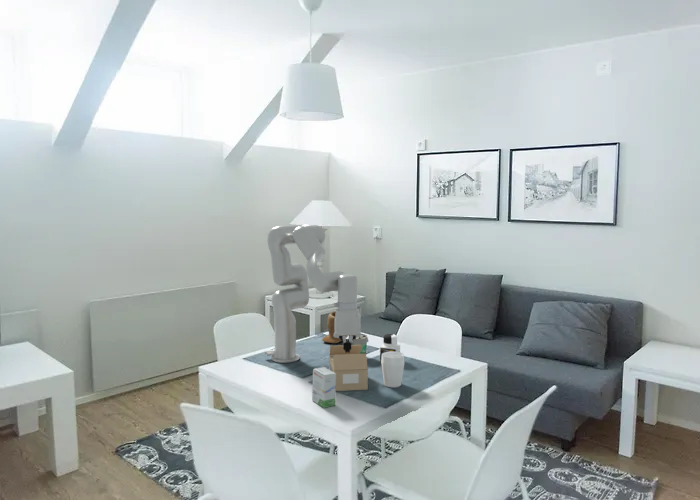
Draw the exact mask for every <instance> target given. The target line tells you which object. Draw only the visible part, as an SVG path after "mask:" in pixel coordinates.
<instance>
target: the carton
mask: <svg viewBox="0 0 700 500" xmlns="http://www.w3.org/2000/svg"><path fill="white" fill-rule="evenodd" d="M328 360H329V361H328V363H329V364H328V365H329V366H328V369H329V370H331V371H332V372H334V373H336V391H335V392H343V391H344V392H345V391H363V390H366V391H367V390H368V387H369V386H368V384H369V382H368V381H369V380H368V378H369V376H368V375H369V373H368V372H369V370H368V369H362V370H337V371H334V359H333V356H330V355H329V357H328Z"/></svg>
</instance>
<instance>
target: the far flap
mask: <svg viewBox="0 0 700 500" xmlns="http://www.w3.org/2000/svg"><path fill="white" fill-rule="evenodd" d="M360 352H361V345H352V344H351V350H350V353H348V352H347V353H346V352H345V350H343V344H342V345H341V344H340V345H339V344H337V345H335V344H334V345H330V347H329V356H333V355H341V354H360Z"/></svg>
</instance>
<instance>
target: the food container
mask: <svg viewBox="0 0 700 500" xmlns="http://www.w3.org/2000/svg"><path fill="white" fill-rule="evenodd" d="M368 342H369V337H368V336H367V334H364V333H361V336H360V337H357V338H355V339H354V340H353V341H352V342H351V345H361V352H360V354H366V355H367V346H368V345H367V344H368Z"/></svg>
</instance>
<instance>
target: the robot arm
mask: <svg viewBox="0 0 700 500" xmlns="http://www.w3.org/2000/svg"><path fill="white" fill-rule="evenodd" d="M325 237H326V234H325V231H324V229H323V228H322V227H321V226H319V225H316V224H313V225H312V224H289V225H288V224H287V225H277V226H274V227H272V228H271V229H270V230H269V231H268V234H267V246H268V250H269V253H270V258H271V271H272V278H273V279H272V280H273V283H274V285H276V286H277V287H287V286H292V287H291V288H290V287H289V288H283V289H279V290H277V291H275V292H273V294H272V297H271V304H272V305H271V306H272V311H273V321H274V322H273V323H274V347H273V349H271V350H269V349H267V350H264V355H266V356H267V357H268V356H271V358H270V359H271V360H272V361H273V362H275V363H280V364H281V363H282V364H287V363H289V364H290V363H295V362H297V361H298V360H299V359H300V354H298V353H297V322H296V319H297V318H296V317H295V315H294V313H293V312H292V310H296V309H301V308H305V307H306V306H308V304H309V302H310V288H309V282H311V285H313V287H314V288H315V289H316V290H317V292H320V293H329V292H335V291H336V292H337V301H336V303H335V302H334V303H333V304H334V305H333V306H334V307H336V310H335V311H336V313H335V323H334V331H335V332H334V337H335V338H340V339H341V340H342V341H341V342H343V344H342V345H343V350H345V352H346V353H347V352H348V353H350V350H351V345H352V341H353V340H354V339H355V338H357V337H360V336H361V334H362V333H361V332H362V326H361V322H362V321H361V314H360V313H361V312H360V309H359V308H358V277H357V275H355V274H353V273H352V274H351V273H345V272H344V271H332V272H331V271H329V272H322V270H321V269H320V266H318V263H319V262H320V261H322V260H323V259H324V257H325V255H326V249H325V248H324V246H323V245H322V243H324V241H325V239H326V238H325ZM287 245H289V246H290V245H296V246H297V248H298V249H299V250H300V251H301V253H302V254H303V256H304V257H305V259H306V261H307V262H306V267H304V265H303V264H301V263H297V262H296V263H292V260H291V253H290V251H289V250H288V248H287V247H286V246H287ZM346 336H348V339H347V337H346Z"/></svg>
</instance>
